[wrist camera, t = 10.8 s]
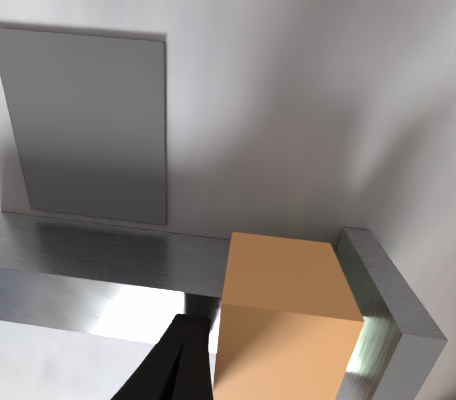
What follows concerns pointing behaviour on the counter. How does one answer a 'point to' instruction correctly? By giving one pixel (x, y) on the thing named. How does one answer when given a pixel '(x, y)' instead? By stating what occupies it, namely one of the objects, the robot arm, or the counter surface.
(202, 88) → the counter surface
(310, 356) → the peach cuboid block
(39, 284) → the rail
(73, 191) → the pad
